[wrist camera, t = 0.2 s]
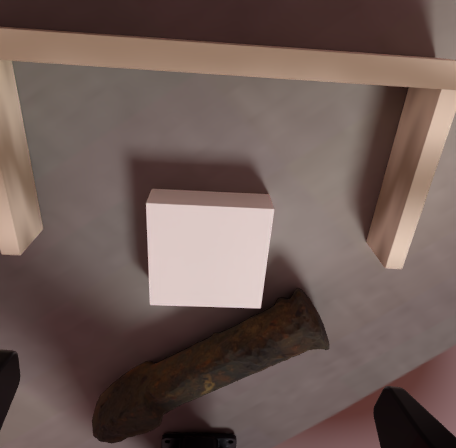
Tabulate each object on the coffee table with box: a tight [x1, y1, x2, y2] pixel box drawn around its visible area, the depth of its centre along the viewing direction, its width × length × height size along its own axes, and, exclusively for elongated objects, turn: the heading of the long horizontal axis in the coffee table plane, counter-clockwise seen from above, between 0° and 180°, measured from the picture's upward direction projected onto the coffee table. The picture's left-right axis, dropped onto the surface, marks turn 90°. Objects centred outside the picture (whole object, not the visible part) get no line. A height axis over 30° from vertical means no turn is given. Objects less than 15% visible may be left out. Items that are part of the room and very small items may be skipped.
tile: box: [146, 189, 274, 308], centre depth 23 cm, size 7×7×2 cm
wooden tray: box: [0, 27, 456, 269], centre depth 19 cm, size 11×22×3 cm, turn 86°
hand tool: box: [92, 288, 329, 444], centre depth 26 cm, size 19×4×5 cm, turn 118°
